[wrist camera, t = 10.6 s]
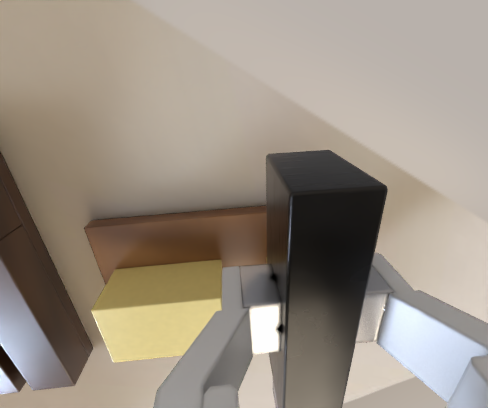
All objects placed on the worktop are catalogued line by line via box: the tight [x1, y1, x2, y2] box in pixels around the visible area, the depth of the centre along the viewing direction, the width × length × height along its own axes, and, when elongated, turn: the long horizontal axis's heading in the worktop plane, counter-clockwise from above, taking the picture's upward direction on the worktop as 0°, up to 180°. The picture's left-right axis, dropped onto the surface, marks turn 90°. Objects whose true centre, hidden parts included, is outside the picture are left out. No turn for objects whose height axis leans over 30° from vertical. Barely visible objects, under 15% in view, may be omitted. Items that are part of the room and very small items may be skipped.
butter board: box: [84, 206, 267, 290], centre depth 19 cm, size 12×14×1 cm
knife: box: [266, 150, 387, 408], centre depth 11 cm, size 16×2×6 cm, turn 3°
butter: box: [91, 260, 222, 363], centre depth 17 cm, size 4×7×4 cm, turn 94°
